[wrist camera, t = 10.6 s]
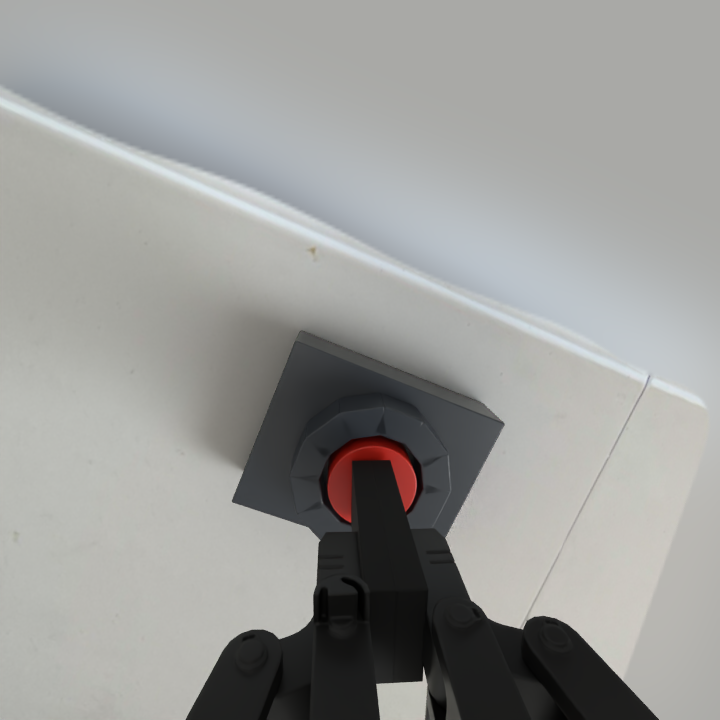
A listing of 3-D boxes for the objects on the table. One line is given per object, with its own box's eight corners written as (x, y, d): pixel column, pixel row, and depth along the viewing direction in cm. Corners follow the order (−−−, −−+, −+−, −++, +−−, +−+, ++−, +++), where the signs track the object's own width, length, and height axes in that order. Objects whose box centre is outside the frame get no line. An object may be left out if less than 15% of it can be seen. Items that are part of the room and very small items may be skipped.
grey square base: (484, 403, 21) (523, 440, 17) (419, 532, 23) (439, 597, 18) (300, 329, 20) (291, 349, 15) (243, 472, 21) (220, 527, 17)
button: (422, 445, 18) (431, 464, 16) (389, 513, 19) (395, 538, 17) (346, 416, 18) (348, 433, 16) (315, 488, 18) (313, 511, 16)
